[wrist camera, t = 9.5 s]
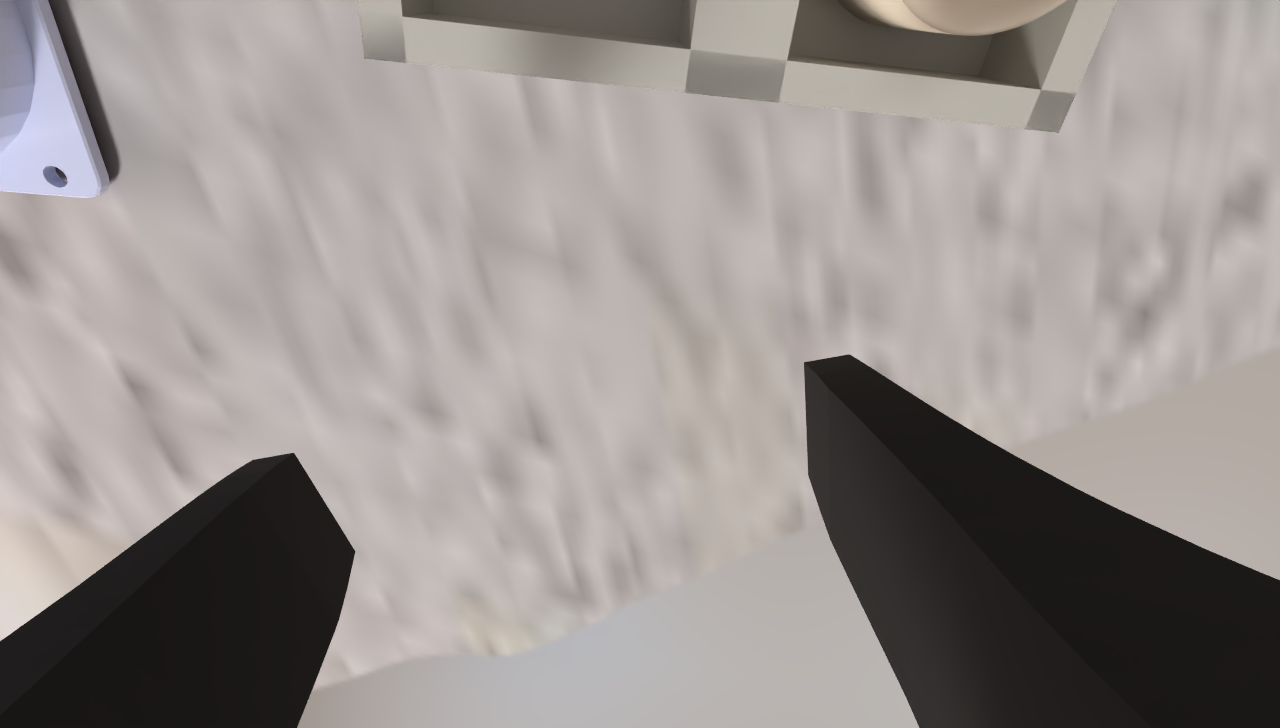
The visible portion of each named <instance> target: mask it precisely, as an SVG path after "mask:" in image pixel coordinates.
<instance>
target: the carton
mask: <svg viewBox="0 0 1280 728" xmlns="http://www.w3.org/2000/svg"><path fill="white" fill-rule="evenodd" d="M1116 1H1117V0H1067V1H1065V2H1064V3H1062V4H1061V5H1059V6H1058V7H1057V8H1055V9H1054V10H1052V11H1050V12H1048V13H1047V14H1045V15H1043V16H1041V17H1039V18H1037V19H1035V20H1033V21H1032V22H1030V23H1027V24H1024V25H1022V26H1019V27H1017V28H1014V29H1010V30H1007V31H1003V32H999V33H995V34H988V35H978V36H966V35H952V34H944V33H935V32H927V31H918V30H910V29H901V28H893V27H884V26H878V25H873V24H870V23H867V22H865V21H862V20H860V19H858V18H857V17H855V16H853V15H852V14H851V13H849V12H848V11H847V10H846V9H845V8H844V7H843V6H842V5H841V4H840V3H839V1H838V0H358V8H359V16H360V25H361V33H362V42H363V50H364V58H365V59H375V60H384V61H394V62H403V63H412V64H422V65H431V66H440V67H450V68H459V69H468V70H478V71H487V72H496V73H506V74H515V75H524V76H534V77H543V78H553V79H562V80H571V81H581V82H590V83H599V84H609V85H618V86H627V87H637V88H646V89H655V90H665V91H674V92H683V93H693V94H702V95H711V96H721V97H730V98H740V99H749V100H758V101H768V102H777V103H786V104H796V105H805V106H814V107H824V108H833V109H842V110H852V111H861V112H870V113H880V114H889V115H899V116H908V117H917V118H927V119H936V120H945V121H955V122H964V123H973V124H983V125H992V126H1001V127H1011V128H1020V129H1029V130H1039V131H1048V132H1057V133H1059V131H1060V128H1061V126H1062V124H1063V122H1064V119H1065V117H1066V115H1067V112H1068V110H1069V108H1070V106H1071V103H1072V101H1073V99H1074V96H1075V94H1076V92H1077V90H1078V87H1079V85H1080V83H1081V81H1082V78H1083V76H1084V74H1085V71H1086V69H1087V67H1088V65H1089V62H1090V60H1091V58H1092V55H1093V53H1094V51H1095V49H1096V46H1097V44H1098V42H1099V39H1100V37H1101V35H1102V33H1103V30H1104V28H1105V26H1106V23H1107V21H1108V19H1109V17H1110V14H1111V12H1112V10H1113V7H1114V5H1115V3H1116Z"/></svg>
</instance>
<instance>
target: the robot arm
mask: <svg viewBox="0 0 1280 728" xmlns="http://www.w3.org/2000/svg"><path fill="white" fill-rule="evenodd" d="M55 167H57V168H59V169H60V170H61V171H63V172H64V174H65V175H66V177H67V182H65V181H64V180H62V179H61V178H60V177H59V176H58V174H57V173H56V169H55ZM109 185H110V183H109V176H108V173H107V170H106V168H105V165H104V162H103V159H102V156H101V153H100V150H99V147H98V144H97V141H96V138H95V136H94V133H93V130H92V127H91V124H90V121H89V118H88V115H87V112H86V109H85V106H84V103H83V101H82V98H81V95H80V92H79V89H78V86H77V83H76V80H75V77H74V74H73V71H72V69H71V66H70V63H69V60H68V57H67V54H66V51H65V48H64V45H63V42H62V39H61V37H60V34H59V31H58V28H57V25H56V22H55V19H54V16H53V13H52V10H51V7H50V4H49V2H48V0H0V191H6V192H18V193H30V194H43V195H55V196H67V197H80V198H91V197H95V196H98V195H100V194H102V193H104V192H105V191H107V190H108V187H109ZM804 373H805V400H806V426H807V452H808V475H809V478H810V481H811V484H812V487H813V490H814V493H815V496H816V499H817V502H818V505H819V508H820V511H821V514H822V517H823V520H824V523H825V526H826V529H827V531H828V534H829V537H830V540H831V541H832V544H833V546H834V548H835V550H836V552H837V554H838V557H839V559H840V561H841V563H842V565H843V567H844V569H845V571H846V573H847V576H848V578H849V580H850V582H851V584H852V586H853V588H854V590H855V592H856V594H857V597H858V598H859V601H860V603H861V605H862V607H863V609H864V611H865V613H866V615H867V617H868V619H869V621H870V623H871V625H872V628H873V630H874V632H875V634H876V636H877V638H878V640H879V642H880V644H881V646H882V648H883V650H884V652H885V654H886V656H887V658H888V661H889V663H890V665H891V667H892V669H893V671H894V673H895V675H896V677H897V679H898V681H899V683H900V685H901V688H902V690H903V692H904V694H905V696H906V698H907V700H908V703H909V705H910V707H911V709H912V712H913V714H914V716H915V719H916V721H917V723H918V725H919V728H1280V580H1278V579H1275V578H1273V577H1270V576H1268V575H1265V574H1263V573H1260V572H1258V571H1256V570H1253V569H1251V568H1248V567H1246V566H1244V565H1241V564H1239V563H1237V562H1234V561H1232V560H1230V559H1227V558H1225V557H1223V556H1220V555H1218V554H1216V553H1213V552H1211V551H1209V550H1206V549H1204V548H1201V547H1199V546H1197V545H1195V544H1193V543H1191V542H1188V541H1186V540H1184V539H1182V538H1180V537H1178V536H1175V535H1173V534H1171V533H1169V532H1167V531H1164V530H1162V529H1160V528H1158V527H1156V526H1154V525H1151V524H1149V523H1147V522H1145V521H1143V520H1141V519H1138V518H1136V517H1134V516H1132V515H1130V514H1127V513H1125V512H1123V511H1121V510H1119V509H1117V508H1115V507H1112V506H1110V505H1109V504H1106V503H1104V502H1102V501H1100V500H1098V499H1096V498H1094V497H1092V496H1090V495H1088V494H1086V493H1084V492H1082V491H1080V490H1078V489H1076V488H1074V487H1072V486H1070V485H1069V484H1067V483H1065V482H1063V481H1061V480H1059V479H1057V478H1056V477H1054V476H1052V475H1050V474H1048V473H1046V472H1044V471H1043V470H1041V469H1039V468H1037V467H1035V466H1033V465H1031V464H1029V463H1027V462H1026V461H1024V460H1022V459H1020V458H1018V457H1016V456H1014V455H1013V454H1011V453H1009V452H1007V451H1006V450H1004V449H1002V448H1000V447H999V446H997V445H995V444H993V443H992V442H990V441H988V440H986V439H985V438H983V437H981V436H980V435H978V434H976V433H974V432H973V431H971V430H969V429H968V428H966V427H964V426H963V425H961V424H959V423H958V422H956V421H954V420H953V419H951V418H949V417H948V416H946V415H945V414H943V413H941V412H940V411H938V410H936V409H935V408H933V407H932V406H930V405H928V404H927V403H925V402H924V401H922V400H920V399H919V398H917V397H916V396H914V395H913V394H911V393H909V392H908V391H906V390H905V389H903V388H902V387H900V386H899V385H897V384H895V383H894V382H892V381H891V380H889V379H888V378H886V377H885V376H883V375H881V374H880V373H878V372H877V371H875V370H874V369H872V368H871V367H869V366H867V365H866V364H864V363H863V362H861V361H859V360H858V359H856V358H854V357H853V356H851V355H843V356H838V357H832V358H826V359H821V360H815V361H810V362H804ZM354 555H355V550H354V549H353V547H352V545H351V544H350V542H349V541H348V539H347V537H346V536H345V534H344V533H343V531H342V529H341V528H340V526H339V525H338V523H337V521H336V520H335V518H334V516H333V515H332V513H331V512H330V510H329V508H328V507H327V505H326V504H325V502H324V500H323V499H322V497H321V496H320V494H319V492H318V491H317V489H316V488H315V486H314V484H313V483H312V481H311V479H310V478H309V476H308V475H307V473H306V471H305V470H304V468H303V467H302V465H301V463H300V462H299V460H298V459H297V457H296V455H295V454H294V453H290V454H284V455H279V456H273V457H268V458H262V459H256V460H252V461H251V462H249V463H247V464H246V465H244V466H242V467H241V468H239V469H237V470H236V471H234V472H233V473H231V474H230V475H228V476H227V477H225V478H224V479H222V480H221V481H219V482H218V483H216V484H215V485H213V486H212V487H211V488H209V489H208V490H206V491H205V492H204V493H202V494H201V495H199V496H198V497H197V498H195V499H194V500H192V501H191V502H190V503H188V504H187V505H186V506H184V507H183V508H182V509H180V510H179V511H177V512H176V513H175V514H173V515H172V516H171V517H169V518H168V519H167V520H165V521H164V522H163V523H161V524H160V525H159V526H157V527H156V528H155V529H153V530H152V531H151V532H149V533H148V534H147V535H145V536H144V537H143V538H141V539H140V540H139V541H137V542H136V543H135V544H133V545H132V546H131V547H129V548H128V549H127V550H125V551H124V552H123V553H121V554H120V555H119V556H117V557H116V558H115V559H113V560H112V561H111V562H109V563H108V564H107V565H105V566H104V567H103V568H101V569H100V570H99V571H97V572H96V573H95V574H93V575H92V576H90V577H89V578H88V579H86V580H85V581H84V582H82V583H81V584H80V585H78V586H77V587H76V588H74V589H73V590H71V591H70V592H69V593H67V594H66V595H64V596H63V597H62V598H60V599H59V600H57V601H56V602H55V603H53V604H52V605H50V606H49V607H48V608H46V609H45V610H43V611H42V612H41V613H39V614H38V615H37V616H35V617H34V618H32V619H31V620H30V621H28V622H27V623H25V624H24V625H23V626H21V627H20V628H18V629H17V630H16V631H14V632H13V633H11V634H10V635H9V636H7V637H6V638H4V639H3V640H2V641H0V728H297V726H298V723H299V721H300V719H301V716H302V714H303V711H304V709H305V706H306V704H307V701H308V699H309V696H310V694H311V691H312V689H313V686H314V684H315V681H316V679H317V676H318V673H319V671H320V668H321V666H322V663H323V660H324V658H325V655H326V653H327V650H328V647H329V645H330V642H331V640H332V637H333V634H334V632H335V629H336V626H337V623H338V621H339V617H340V614H341V610H342V606H343V602H344V598H345V595H346V591H347V587H348V582H349V578H350V573H351V568H352V564H353V559H354Z"/></svg>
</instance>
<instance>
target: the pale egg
mask: <svg viewBox="0 0 1280 728" xmlns="http://www.w3.org/2000/svg"><path fill="white" fill-rule="evenodd" d="M838 1H839V3H840V4H841V5H842V6H843V7H844V8H845V9H846V10H847V11H848V12H849V13H851V14H852V15H853V16H855V17H857V18H858V19H860V20H862V21H865V22H867V23H870V24H873V25H878V26H884V27H893V28H901V29H910V30H918V31H927V32H935V33H944V34H952V35H966V36H978V35H988V34H995V33H999V32H1003V31H1007V30H1010V29H1014V28H1017V27H1019V26H1022V25H1024V24H1027V23H1030V22H1032V21H1033V20H1035V19H1037V18H1039V17H1041V16H1043V15H1045V14H1047V13H1048V12H1050V11H1052V10H1054V9H1055V8H1057V7H1058V6H1059V5H1061V4H1062V3H1064V2H1065V1H1067V0H838Z"/></svg>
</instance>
